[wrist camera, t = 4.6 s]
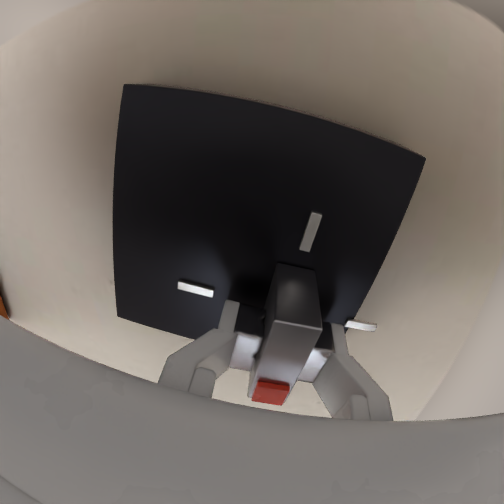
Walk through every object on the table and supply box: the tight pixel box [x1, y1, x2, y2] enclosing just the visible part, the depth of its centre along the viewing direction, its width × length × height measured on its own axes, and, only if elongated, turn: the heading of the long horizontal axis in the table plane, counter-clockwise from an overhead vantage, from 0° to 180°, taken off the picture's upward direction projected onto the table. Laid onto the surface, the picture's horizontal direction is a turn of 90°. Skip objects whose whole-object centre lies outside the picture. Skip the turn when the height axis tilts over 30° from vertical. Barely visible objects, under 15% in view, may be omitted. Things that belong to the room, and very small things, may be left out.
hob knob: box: [247, 263, 323, 405], centre depth 10 cm, size 4×1×3 cm, turn 169°
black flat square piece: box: [113, 84, 426, 340], centre depth 12 cm, size 11×11×2 cm
